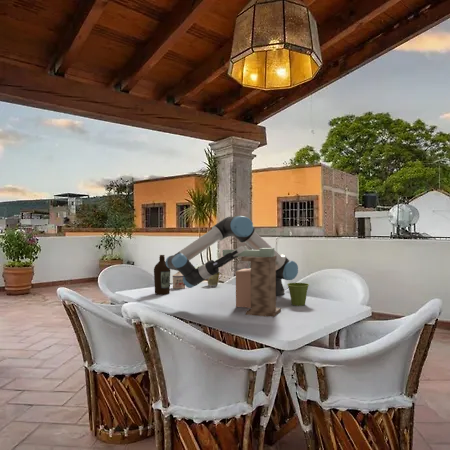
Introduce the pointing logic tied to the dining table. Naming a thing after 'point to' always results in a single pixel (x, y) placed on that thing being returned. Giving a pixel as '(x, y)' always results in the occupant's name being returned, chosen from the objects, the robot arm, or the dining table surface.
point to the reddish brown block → (243, 288)
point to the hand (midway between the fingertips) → (245, 247)
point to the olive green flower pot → (214, 279)
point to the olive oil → (162, 277)
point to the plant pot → (298, 293)
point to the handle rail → (254, 252)
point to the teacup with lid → (178, 281)
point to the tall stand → (263, 286)
